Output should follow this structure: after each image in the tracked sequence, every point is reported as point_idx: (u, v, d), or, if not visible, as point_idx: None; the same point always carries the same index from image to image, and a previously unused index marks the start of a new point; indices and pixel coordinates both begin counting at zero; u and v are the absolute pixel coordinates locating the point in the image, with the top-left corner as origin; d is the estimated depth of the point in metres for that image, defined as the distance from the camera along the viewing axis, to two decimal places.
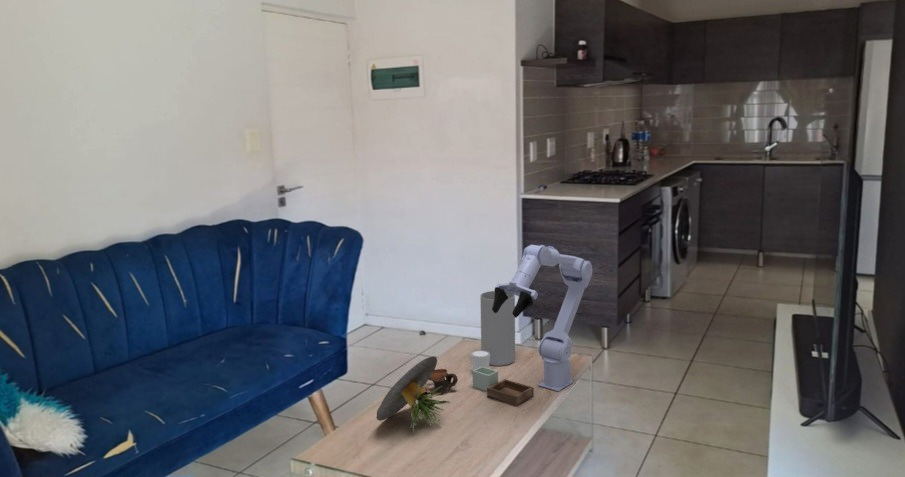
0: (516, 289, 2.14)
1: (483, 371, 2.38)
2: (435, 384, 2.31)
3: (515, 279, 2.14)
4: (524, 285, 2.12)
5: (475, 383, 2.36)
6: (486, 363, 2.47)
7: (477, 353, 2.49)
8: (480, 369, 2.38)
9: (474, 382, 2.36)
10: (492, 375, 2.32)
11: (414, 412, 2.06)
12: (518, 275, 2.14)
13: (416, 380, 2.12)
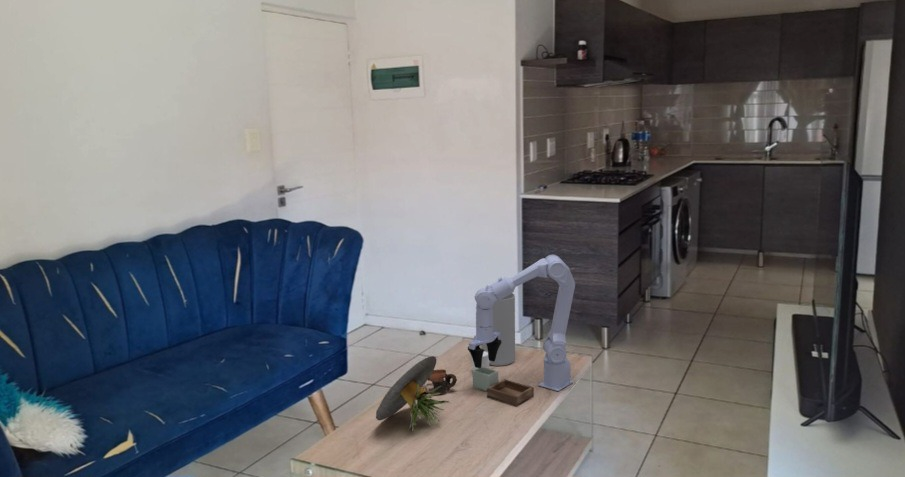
0: None
1: (483, 371, 2.38)
2: (434, 385, 2.31)
3: None
4: (477, 336, 2.31)
5: (475, 383, 2.36)
6: (486, 363, 2.47)
7: None
8: (480, 369, 2.38)
9: (474, 382, 2.36)
10: (492, 375, 2.32)
11: (413, 412, 2.06)
12: None
13: (416, 379, 2.12)
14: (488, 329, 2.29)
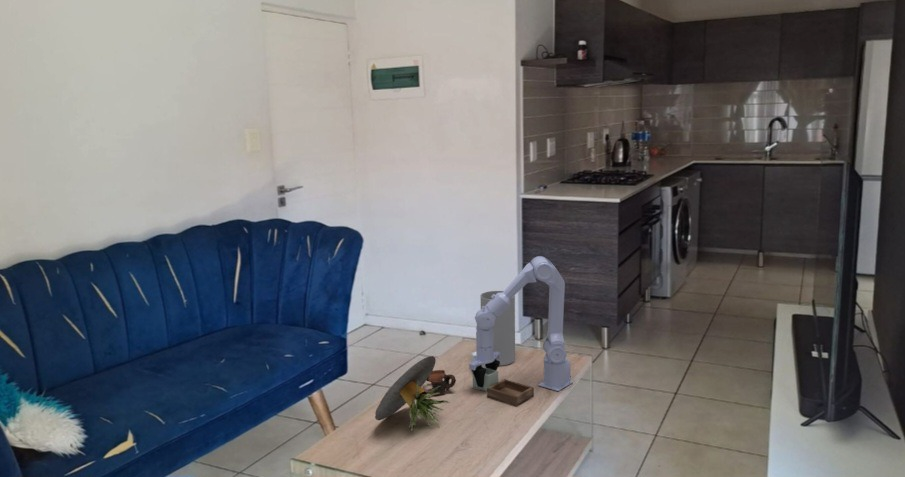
0: None
1: None
2: (433, 385, 2.30)
3: None
4: (477, 356, 2.33)
5: (475, 383, 2.36)
6: None
7: None
8: None
9: (474, 382, 2.36)
10: (492, 375, 2.32)
11: (413, 412, 2.06)
12: None
13: (415, 379, 2.13)
14: (488, 350, 2.31)
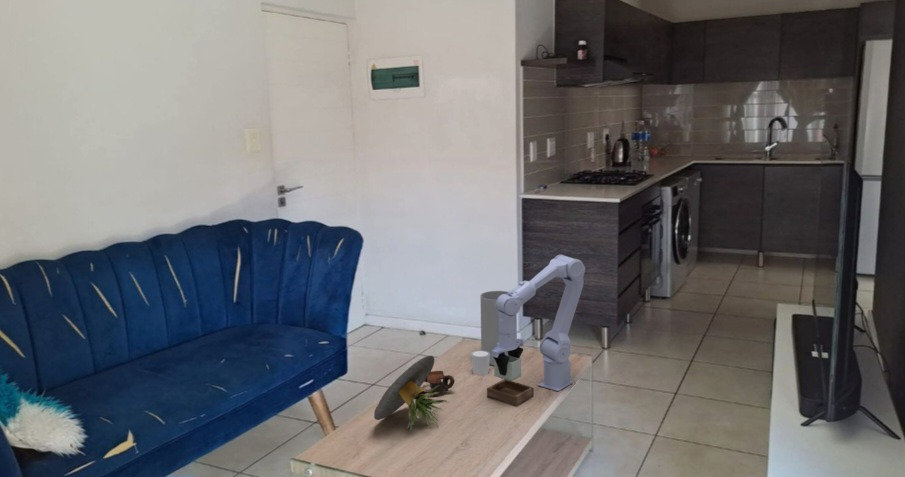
0: None
1: None
2: (432, 386, 2.30)
3: None
4: (499, 343, 2.24)
5: (497, 372, 2.27)
6: (486, 363, 2.47)
7: (477, 353, 2.49)
8: None
9: (496, 370, 2.27)
10: (515, 363, 2.24)
11: (412, 411, 2.06)
12: None
13: (414, 379, 2.13)
14: (511, 336, 2.22)
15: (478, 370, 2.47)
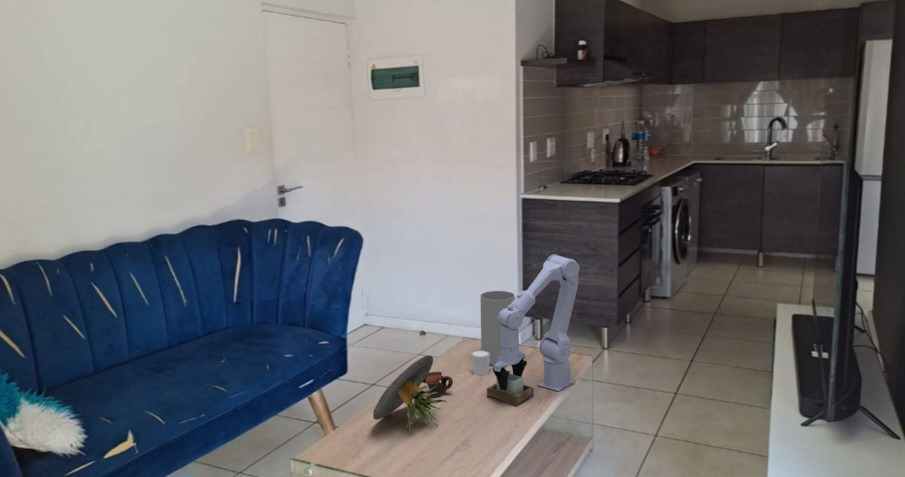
0: None
1: None
2: (430, 387, 2.29)
3: None
4: (502, 357, 2.25)
5: (499, 390, 2.28)
6: (486, 363, 2.47)
7: (477, 353, 2.49)
8: None
9: (498, 389, 2.28)
10: (517, 381, 2.25)
11: (410, 411, 2.07)
12: None
13: (412, 379, 2.13)
14: (514, 350, 2.23)
15: (478, 370, 2.47)
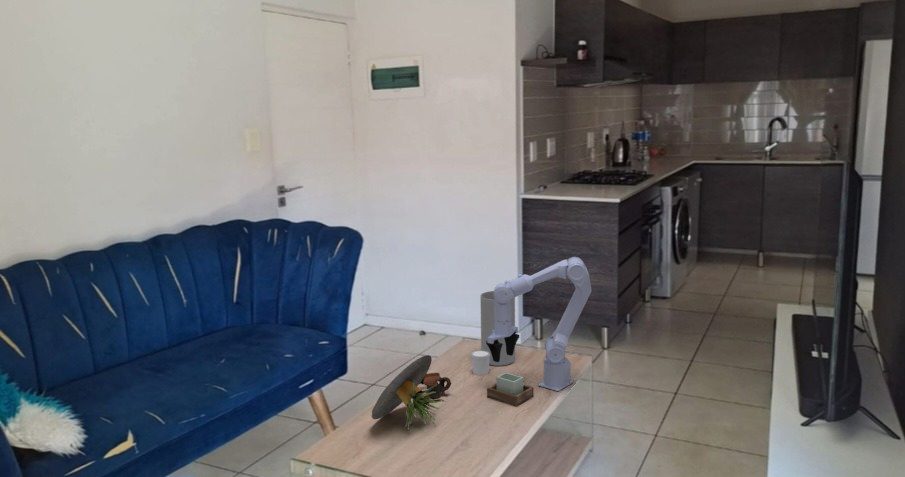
0: None
1: (507, 377, 2.30)
2: None
3: None
4: (495, 330, 2.34)
5: (499, 390, 2.28)
6: (486, 363, 2.47)
7: (477, 353, 2.49)
8: (504, 375, 2.30)
9: (498, 389, 2.28)
10: (517, 381, 2.25)
11: (409, 411, 2.07)
12: None
13: (411, 378, 2.13)
14: (506, 323, 2.32)
15: (478, 370, 2.47)
